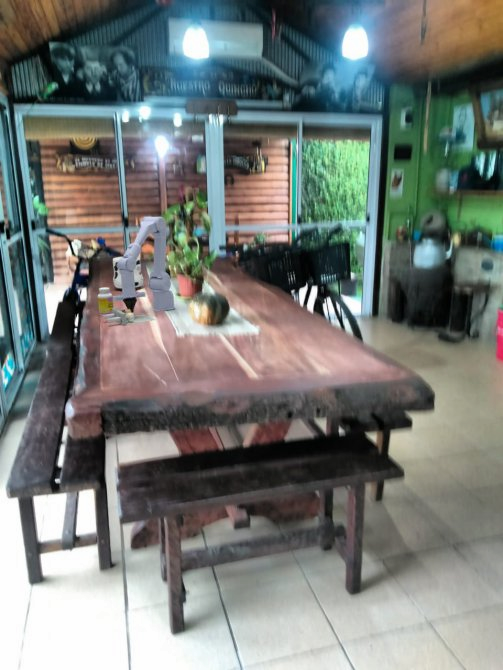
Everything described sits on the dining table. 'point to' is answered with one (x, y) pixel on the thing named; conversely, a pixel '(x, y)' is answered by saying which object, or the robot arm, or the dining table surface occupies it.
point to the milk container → (137, 274)
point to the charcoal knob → (112, 315)
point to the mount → (136, 318)
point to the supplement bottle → (105, 301)
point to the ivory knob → (128, 317)
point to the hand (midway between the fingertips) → (131, 314)
